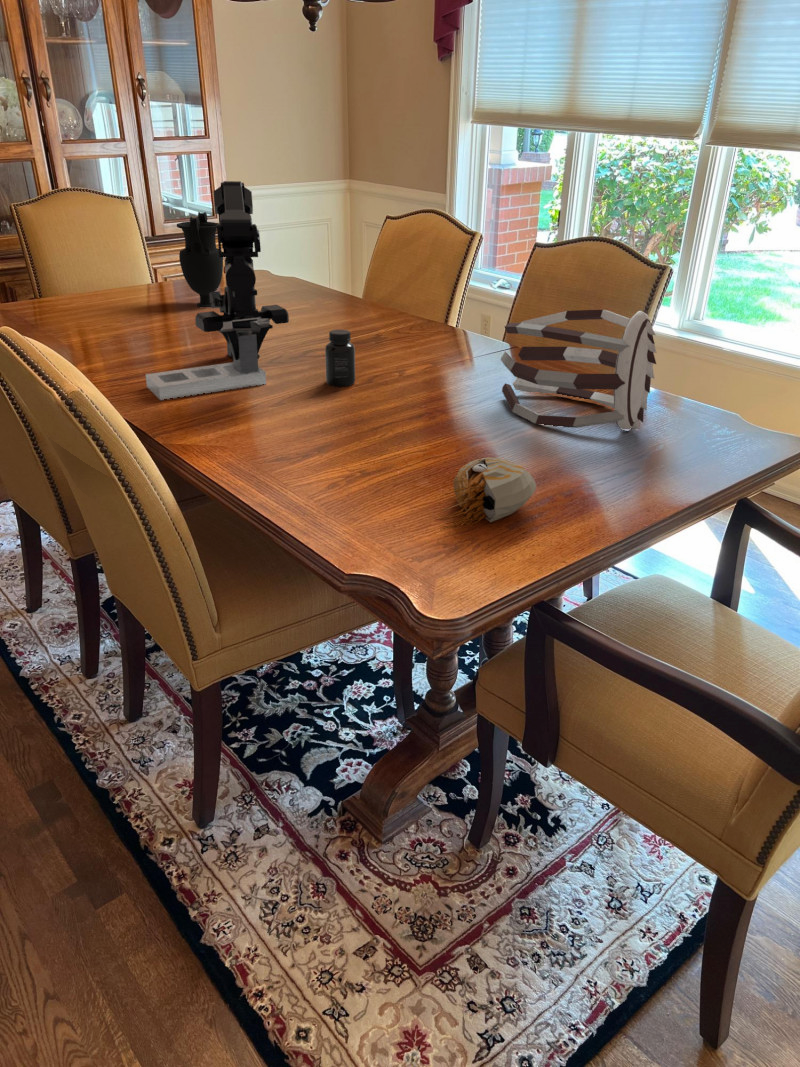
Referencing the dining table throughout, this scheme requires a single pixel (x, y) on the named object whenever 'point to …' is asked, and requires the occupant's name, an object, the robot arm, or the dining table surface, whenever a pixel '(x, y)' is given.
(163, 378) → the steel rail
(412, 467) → the dining table surface
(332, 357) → the supplement bottle
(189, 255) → the urn
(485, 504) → the nautilus
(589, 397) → the decorative basket
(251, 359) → the graphite block
